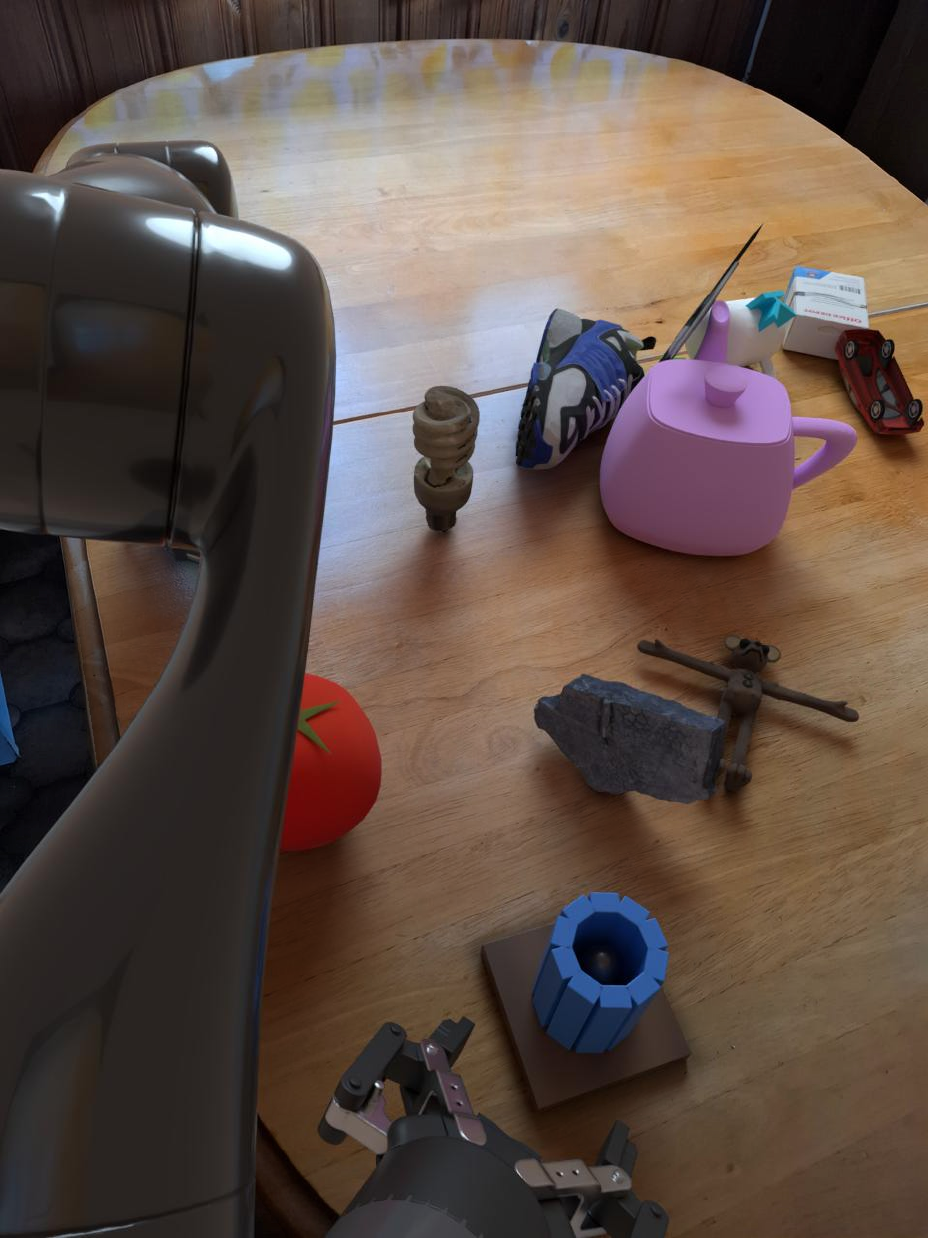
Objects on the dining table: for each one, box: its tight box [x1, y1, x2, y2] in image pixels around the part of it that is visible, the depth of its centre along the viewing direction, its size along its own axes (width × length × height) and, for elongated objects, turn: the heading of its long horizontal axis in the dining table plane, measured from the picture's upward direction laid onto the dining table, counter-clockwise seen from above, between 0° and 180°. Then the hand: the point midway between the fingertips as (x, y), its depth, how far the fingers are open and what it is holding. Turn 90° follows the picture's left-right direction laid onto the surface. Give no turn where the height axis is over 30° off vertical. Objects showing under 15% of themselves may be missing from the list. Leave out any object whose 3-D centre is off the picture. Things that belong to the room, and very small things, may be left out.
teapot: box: [599, 299, 858, 557], centre depth 84 cm, size 23×21×15 cm
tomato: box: [280, 672, 383, 852], centre depth 60 cm, size 11×11×13 cm
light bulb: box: [412, 385, 481, 534], centre depth 79 cm, size 6×6×15 cm
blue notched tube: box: [532, 891, 670, 1053], centre depth 53 cm, size 6×7×8 cm
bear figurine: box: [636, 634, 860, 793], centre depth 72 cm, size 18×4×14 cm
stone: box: [533, 672, 727, 805], centre depth 65 cm, size 14×6×10 cm, turn 69°
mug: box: [684, 289, 796, 380], centre depth 99 cm, size 12×9×12 cm
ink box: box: [782, 265, 871, 361], centre depth 109 cm, size 8×5×12 cm
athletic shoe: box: [514, 308, 657, 471], centre depth 92 cm, size 10×26×12 cm
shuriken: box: [657, 222, 765, 363], centre depth 89 cm, size 24×1×21 cm, turn 154°
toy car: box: [834, 328, 925, 436], centre depth 100 cm, size 6×15×5 cm, turn 10°
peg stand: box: [480, 921, 692, 1115], centre depth 54 cm, size 10×10×8 cm
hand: (535, 1085), depth 44 cm, fingers open, 8 cm apart
